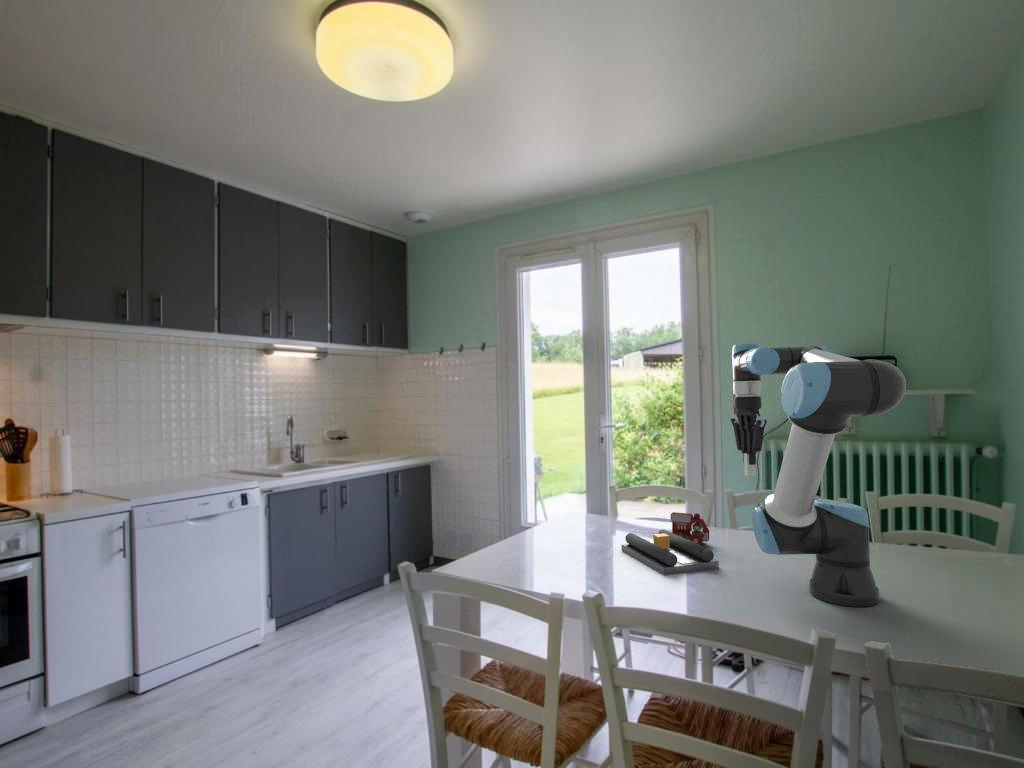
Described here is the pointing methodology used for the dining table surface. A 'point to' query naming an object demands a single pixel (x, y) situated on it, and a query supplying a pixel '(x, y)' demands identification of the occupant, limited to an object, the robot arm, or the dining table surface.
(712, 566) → the panel
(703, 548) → the dark grey cylindrical rod
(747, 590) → the dining table surface
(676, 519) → the toy fire truck
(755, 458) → the robot arm
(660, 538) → the tan cardboard-colored block
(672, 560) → the dark grey cylinder rod
